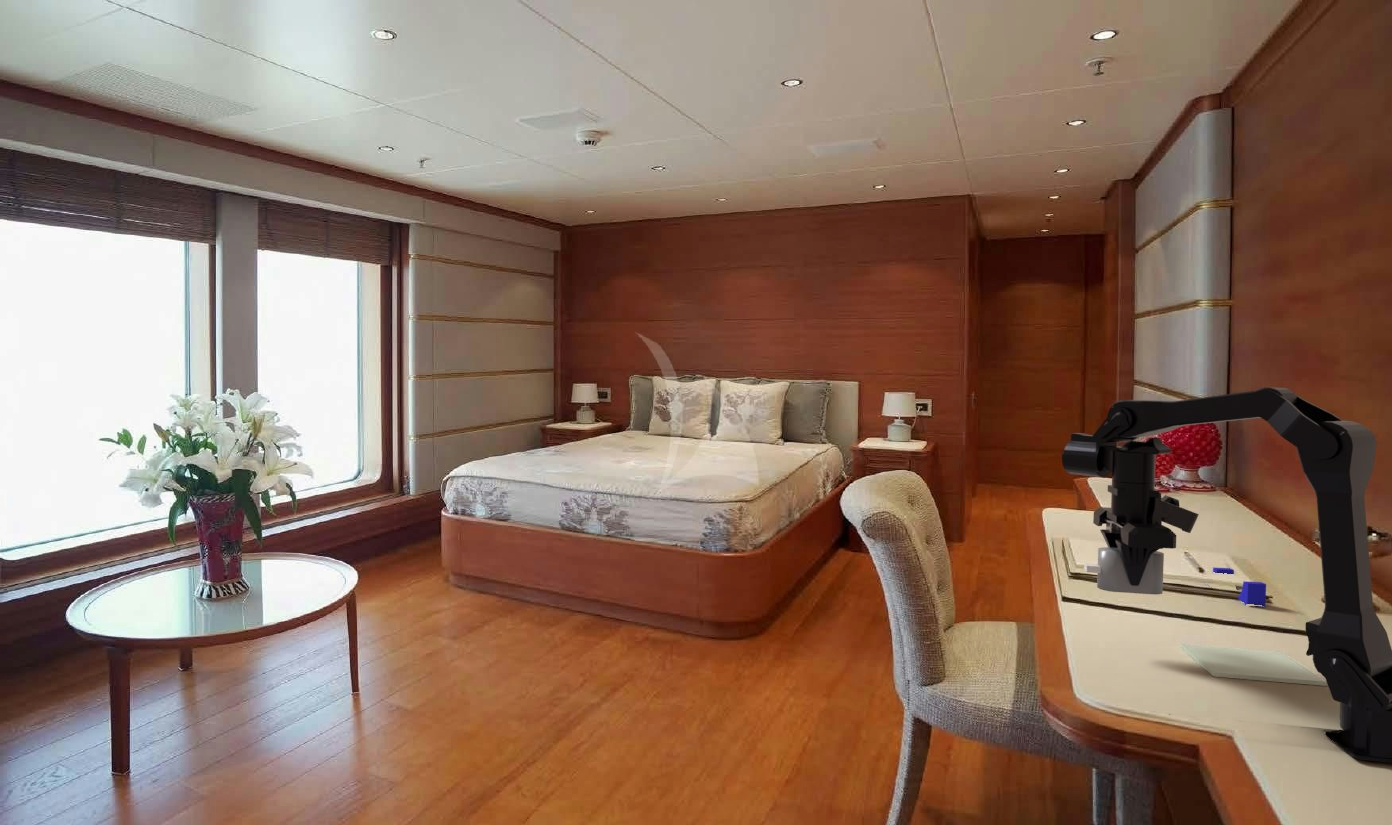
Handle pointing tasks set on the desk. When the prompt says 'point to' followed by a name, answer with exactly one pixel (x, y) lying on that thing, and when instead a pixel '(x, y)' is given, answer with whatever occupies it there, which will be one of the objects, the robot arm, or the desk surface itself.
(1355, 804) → the desk surface
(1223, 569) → the blue blocks
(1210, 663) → the sage pad
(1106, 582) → the rounded connector
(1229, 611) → the desk surface
